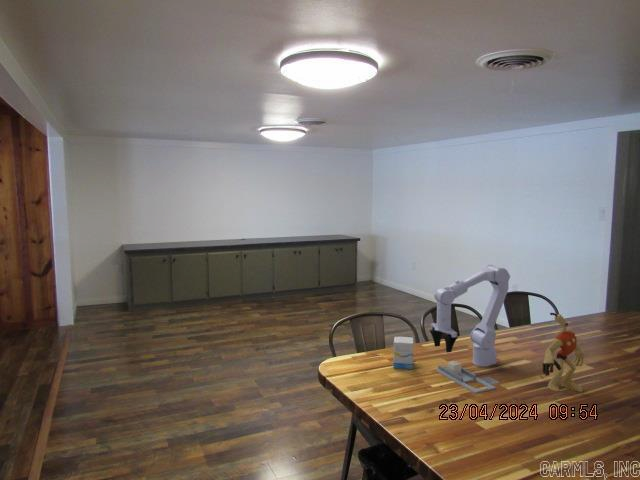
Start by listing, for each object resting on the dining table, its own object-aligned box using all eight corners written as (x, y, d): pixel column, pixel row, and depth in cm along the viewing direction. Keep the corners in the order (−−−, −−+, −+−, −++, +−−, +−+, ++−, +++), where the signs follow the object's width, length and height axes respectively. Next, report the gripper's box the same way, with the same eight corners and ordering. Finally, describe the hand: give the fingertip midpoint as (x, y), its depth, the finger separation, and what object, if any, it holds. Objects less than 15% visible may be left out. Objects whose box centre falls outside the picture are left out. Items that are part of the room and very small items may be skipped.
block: (454, 369, 183) (454, 360, 182) (461, 373, 179) (461, 363, 179) (446, 371, 181) (446, 362, 181) (453, 375, 177) (453, 365, 177)
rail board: (455, 370, 187) (455, 362, 187) (495, 392, 166) (496, 383, 166) (435, 374, 183) (435, 365, 183) (474, 397, 162) (475, 388, 162)
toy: (550, 404, 157) (554, 321, 154) (528, 394, 164) (532, 315, 161) (589, 390, 167) (594, 313, 164) (568, 381, 175) (571, 307, 172)
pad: (488, 380, 177) (488, 376, 177) (499, 386, 172) (499, 382, 171) (478, 382, 175) (478, 378, 175) (489, 388, 170) (490, 384, 169)
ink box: (413, 369, 188) (413, 343, 187) (393, 368, 190) (393, 342, 189) (413, 362, 197) (413, 337, 195) (393, 361, 198) (394, 335, 197)
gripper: (425, 314, 190) (424, 344, 191) (447, 323, 176) (446, 356, 178) (438, 312, 193) (438, 342, 194) (461, 321, 179) (460, 353, 181)
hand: (443, 349), depth 186 cm, fingers open, 7 cm apart
